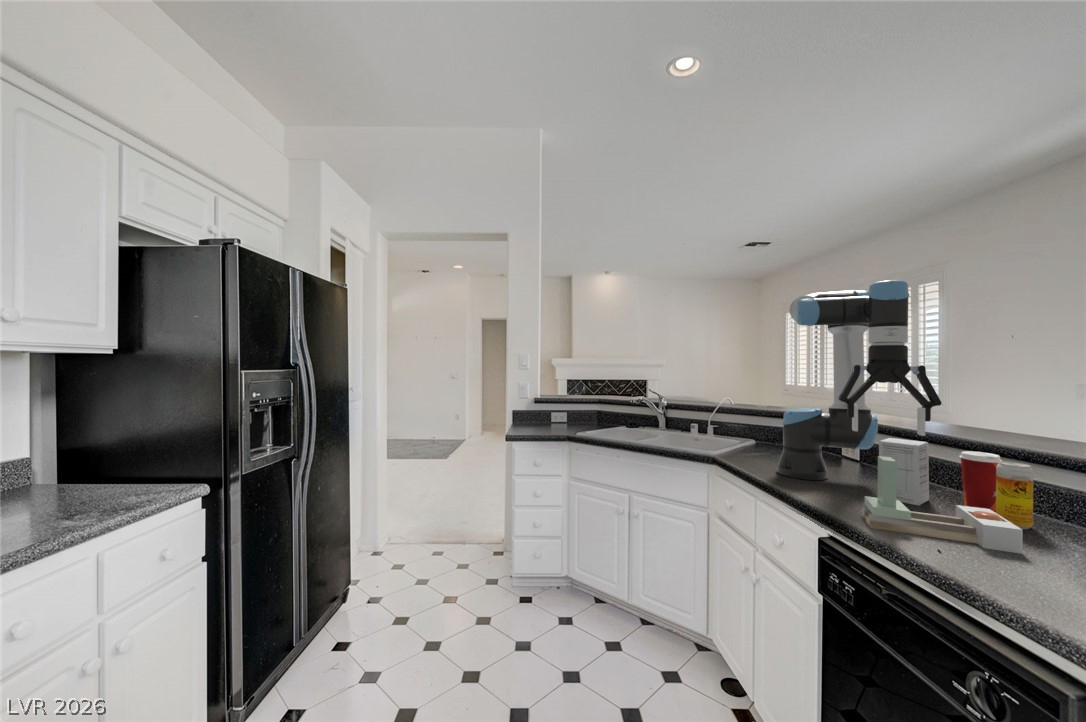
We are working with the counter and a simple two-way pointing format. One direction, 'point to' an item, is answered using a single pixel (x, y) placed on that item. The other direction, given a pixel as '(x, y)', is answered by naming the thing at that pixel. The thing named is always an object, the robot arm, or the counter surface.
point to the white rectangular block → (993, 530)
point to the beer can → (1015, 493)
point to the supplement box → (909, 468)
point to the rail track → (924, 525)
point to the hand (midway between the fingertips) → (887, 432)
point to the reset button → (986, 515)
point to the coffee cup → (979, 479)
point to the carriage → (887, 493)
